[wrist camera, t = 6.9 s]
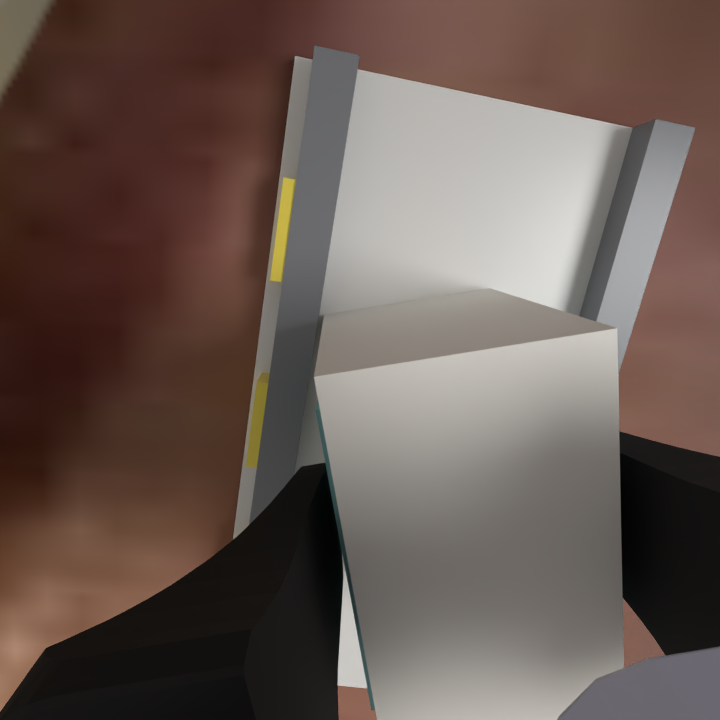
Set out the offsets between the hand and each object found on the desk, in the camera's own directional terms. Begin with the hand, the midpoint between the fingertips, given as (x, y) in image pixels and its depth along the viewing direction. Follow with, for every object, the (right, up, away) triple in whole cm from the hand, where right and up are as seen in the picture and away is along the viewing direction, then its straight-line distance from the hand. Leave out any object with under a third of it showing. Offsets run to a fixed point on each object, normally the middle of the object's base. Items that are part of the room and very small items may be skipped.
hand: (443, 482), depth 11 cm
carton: (0, +1, +3) cm, 3 cm away
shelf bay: (0, +1, +3) cm, 3 cm away
